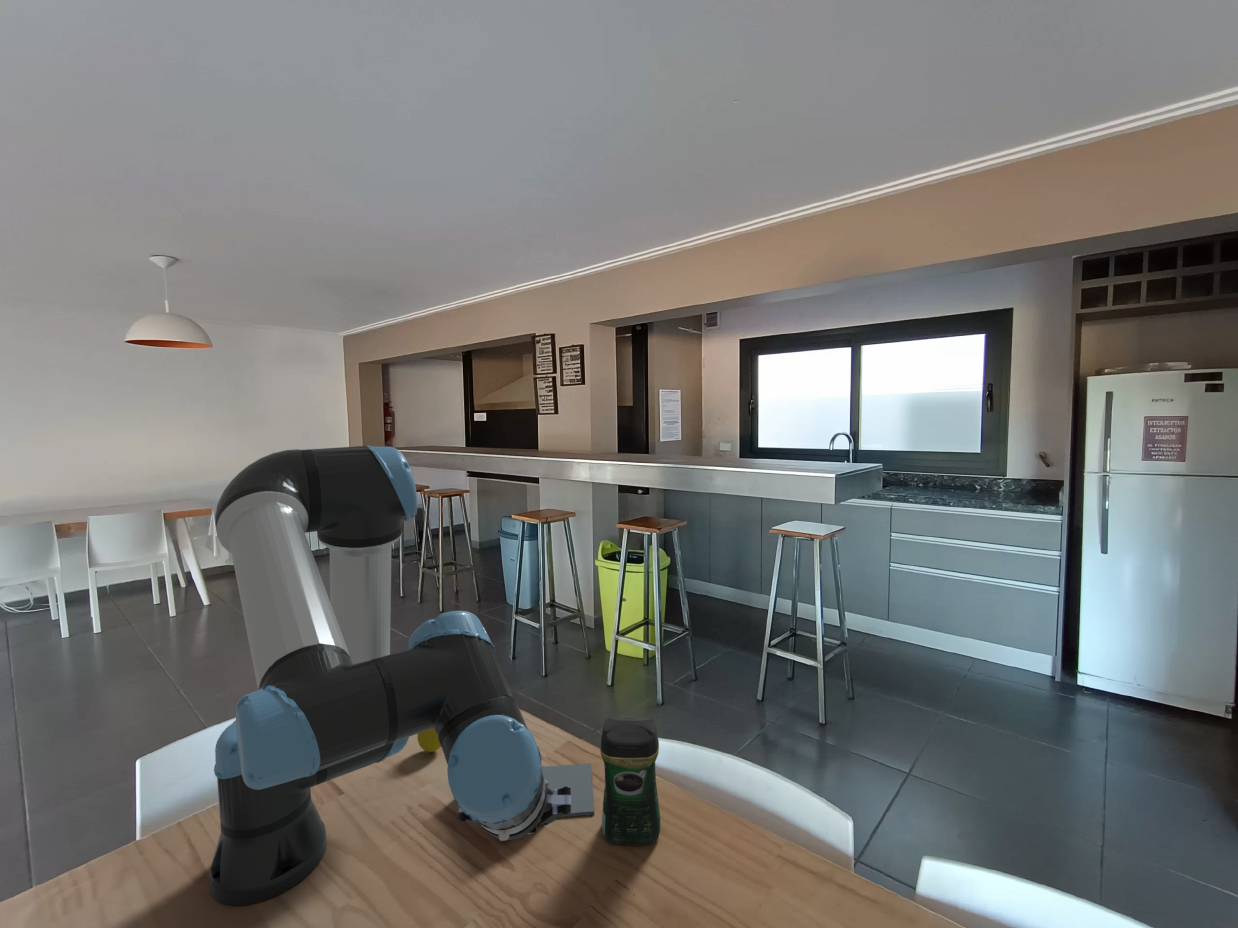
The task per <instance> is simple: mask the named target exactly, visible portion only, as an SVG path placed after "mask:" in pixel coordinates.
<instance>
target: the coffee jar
mask: <svg viewBox="0 0 1238 928" xmlns="http://www.w3.org/2000/svg"><path fill="white" fill-rule="evenodd" d="M658 736H659V735H658V729H657V725H656V722H655V720H654V719H653V718H646V717H644V718H643V717H612V718H610V717H608V718H606V719H605V720H604V723H603V726H602V732H601V739H600V743H599V745H600V746H599V749H600V751H599V752H600V756H601V758H602V761H603V765H604V784H603V785H604V787H603V788H604V789H603V801H602V802H603V803H602V814H601V815H602V816H601V826H602V835H603V837H604V838H605V839H606V840H607V841H608V842H610V843H611V844H612V843H613V844H616V845H625V846H644V845H649V844H651V843H654V841H656V840H657V839H658V838H659V835H660V832H661V812H660V811H661V810H660V802H659V795H658V787H657V776H656V760H657V758H658V756H659V753H660V752H659V751H660V740H659V737H658Z"/></svg>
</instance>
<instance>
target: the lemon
mask: <svg viewBox="0 0 1238 928" xmlns="http://www.w3.org/2000/svg"><path fill="white" fill-rule="evenodd" d="M416 735H417V742H418V745H419V747H420V748H421V749H422V750H423V751H425V752H429V753H432V754H433V753H435V752H436V751H437V750H439V749H440V748H442V747H441V745H440V742H439V739H438V735H437V733H436V731H435V729H434V728H432V729H429V730H426V731H423V732H421V733H418V734H416Z"/></svg>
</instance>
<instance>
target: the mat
mask: <svg viewBox="0 0 1238 928" xmlns="http://www.w3.org/2000/svg"><path fill="white" fill-rule="evenodd" d="M542 771H543V775H544V779H545V780H546V781H547V782H548V784H549V789H551V791H552V792H553V790H554V789H557V790H558V789H561V788H563V787H568V788H571V813H568V814H566V815H562V816H560V817H559V818H570V817H582V816H593V815H595V803H594V802H595V800H594V787H593V785H594V784H593V767H592V763H590V762H589V763H576V764H575V763H574V764H560V765H546V766H545V765H544V766H542Z"/></svg>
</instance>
